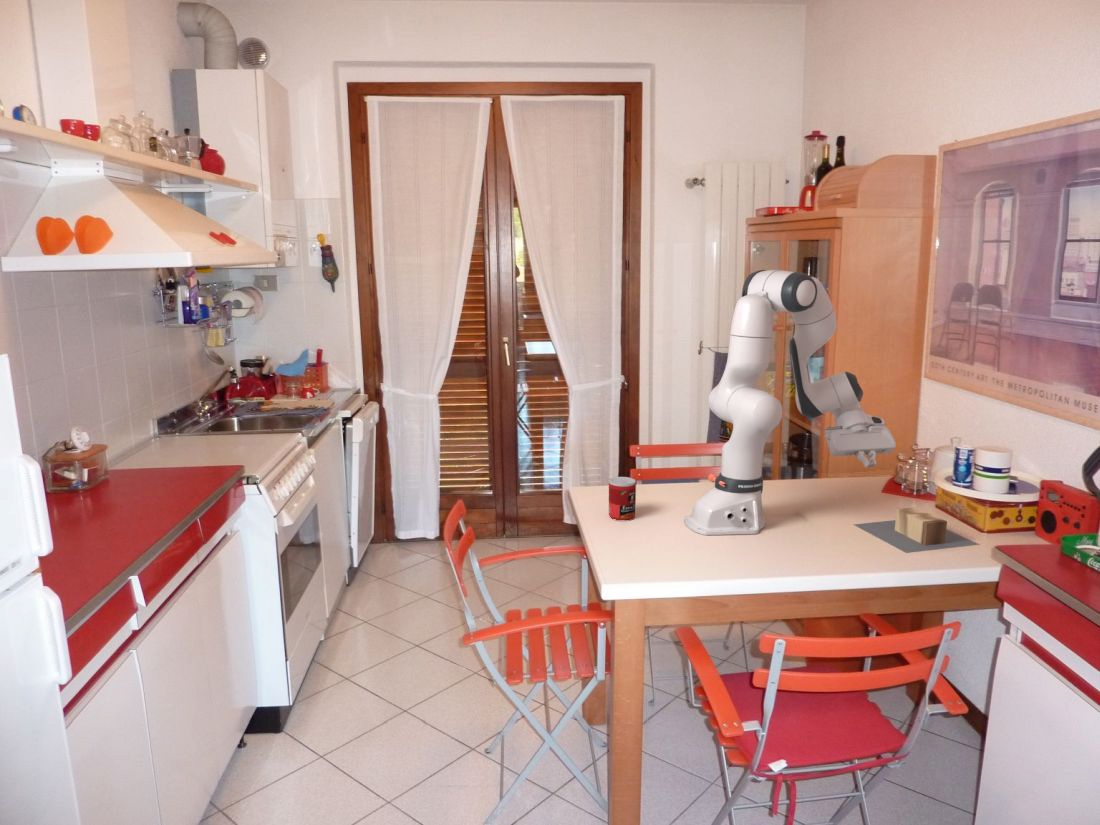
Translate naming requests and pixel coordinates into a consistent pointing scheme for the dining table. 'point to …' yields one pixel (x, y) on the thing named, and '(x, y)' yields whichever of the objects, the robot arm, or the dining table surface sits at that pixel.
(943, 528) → the maple block
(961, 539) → the rubber mat
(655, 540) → the dining table surface
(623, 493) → the canned food
